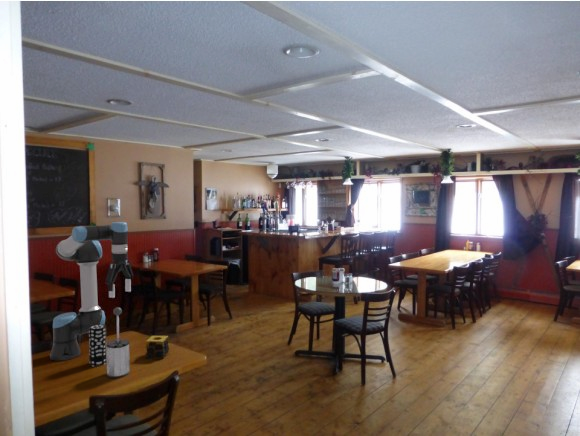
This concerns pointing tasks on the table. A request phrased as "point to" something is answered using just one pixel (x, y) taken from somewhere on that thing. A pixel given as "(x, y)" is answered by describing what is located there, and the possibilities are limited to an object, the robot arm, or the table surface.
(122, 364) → the grey cylinder
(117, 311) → the grey ball-topped rod
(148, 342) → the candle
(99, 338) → the spotted tube
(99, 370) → the table surface
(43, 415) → the table surface
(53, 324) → the robot arm
